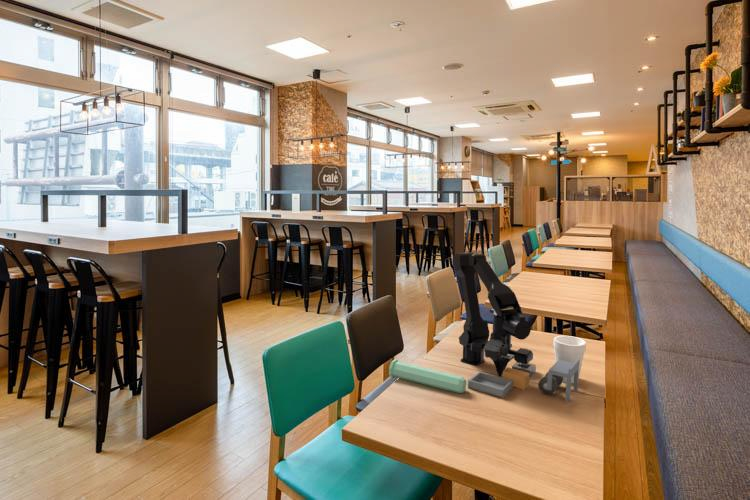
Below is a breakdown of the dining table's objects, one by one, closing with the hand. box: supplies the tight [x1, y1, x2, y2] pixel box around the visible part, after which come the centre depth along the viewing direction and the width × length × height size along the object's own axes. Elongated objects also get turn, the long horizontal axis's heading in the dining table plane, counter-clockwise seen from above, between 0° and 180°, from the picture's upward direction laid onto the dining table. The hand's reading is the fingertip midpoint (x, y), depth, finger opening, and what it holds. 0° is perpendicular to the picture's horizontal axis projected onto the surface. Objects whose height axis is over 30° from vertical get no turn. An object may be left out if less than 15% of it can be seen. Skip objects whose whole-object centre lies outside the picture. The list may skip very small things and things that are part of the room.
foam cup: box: [553, 335, 587, 384], centre depth 141 cm, size 10×9×13 cm
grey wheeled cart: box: [537, 359, 580, 402], centre depth 133 cm, size 9×10×10 cm
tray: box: [467, 371, 514, 399], centre depth 136 cm, size 11×8×2 cm
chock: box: [502, 367, 530, 390], centre depth 138 cm, size 7×4×4 cm, turn 50°
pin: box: [520, 347, 529, 368], centre depth 147 cm, size 2×2×8 cm
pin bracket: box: [511, 361, 537, 379], centre depth 147 cm, size 6×6×2 cm
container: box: [388, 359, 467, 394], centre depth 139 cm, size 6×6×25 cm
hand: (500, 376), depth 142 cm, fingers closed
